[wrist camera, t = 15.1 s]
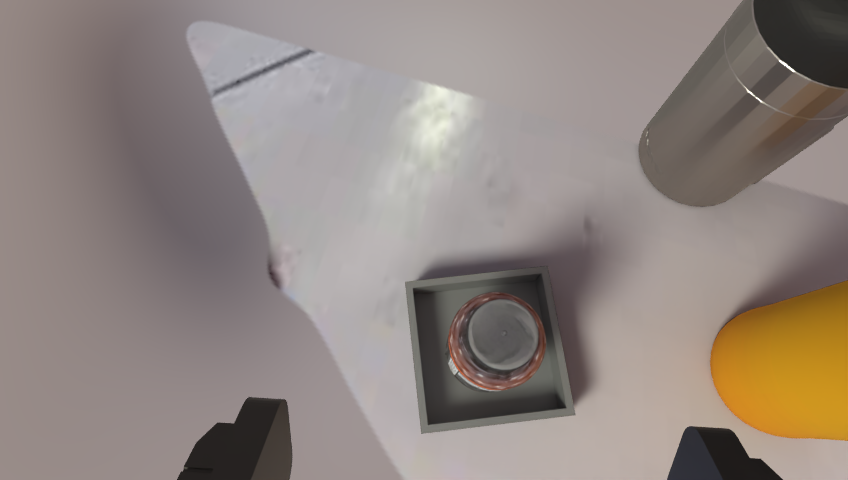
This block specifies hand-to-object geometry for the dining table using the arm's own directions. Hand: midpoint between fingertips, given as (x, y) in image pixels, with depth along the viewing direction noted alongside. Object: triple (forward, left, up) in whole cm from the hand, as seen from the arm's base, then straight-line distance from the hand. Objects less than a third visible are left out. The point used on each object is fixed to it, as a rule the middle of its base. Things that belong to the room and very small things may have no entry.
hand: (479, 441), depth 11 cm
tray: (-4, -5, -31) cm, 31 cm away
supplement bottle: (-4, -4, -30) cm, 31 cm away
